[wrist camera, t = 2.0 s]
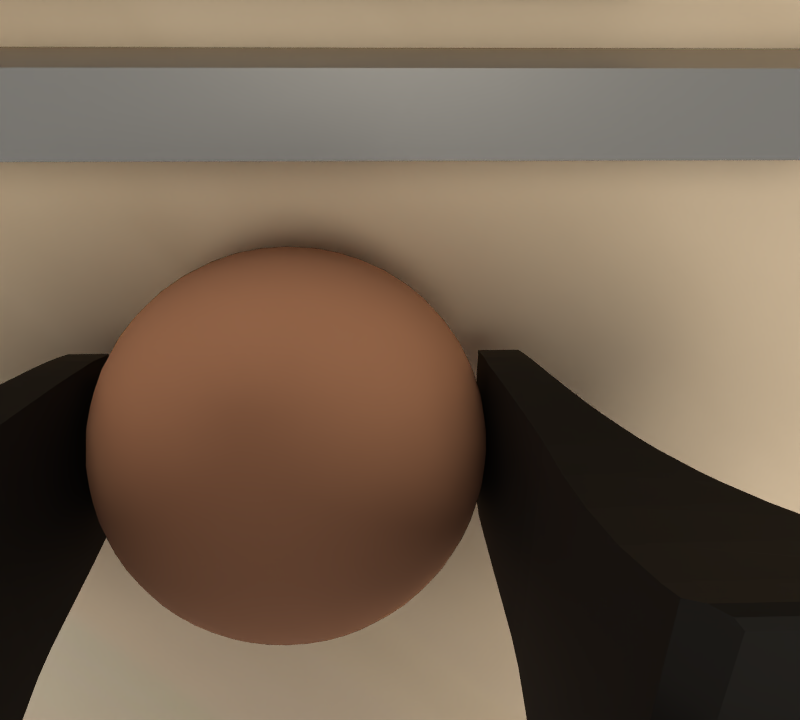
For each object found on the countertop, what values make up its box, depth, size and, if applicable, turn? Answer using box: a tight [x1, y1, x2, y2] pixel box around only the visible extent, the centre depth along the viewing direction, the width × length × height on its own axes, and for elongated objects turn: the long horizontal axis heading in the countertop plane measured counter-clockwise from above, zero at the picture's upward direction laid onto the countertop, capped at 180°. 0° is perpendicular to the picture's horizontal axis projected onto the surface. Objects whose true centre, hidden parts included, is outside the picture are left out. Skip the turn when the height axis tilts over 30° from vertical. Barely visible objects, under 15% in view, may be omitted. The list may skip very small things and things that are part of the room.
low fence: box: [0, 47, 800, 162], centre depth 9 cm, size 1×16×3 cm, turn 89°
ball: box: [86, 247, 486, 645], centre depth 10 cm, size 6×6×6 cm
